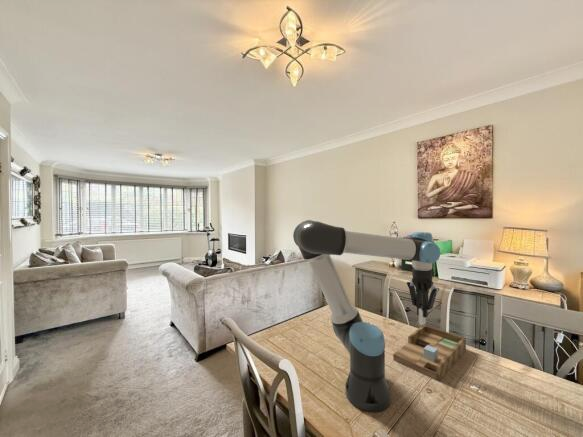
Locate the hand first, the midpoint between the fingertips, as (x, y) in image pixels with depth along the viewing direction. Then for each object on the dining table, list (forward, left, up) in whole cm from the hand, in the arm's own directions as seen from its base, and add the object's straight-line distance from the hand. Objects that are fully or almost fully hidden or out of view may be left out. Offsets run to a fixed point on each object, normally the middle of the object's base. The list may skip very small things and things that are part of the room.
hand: (422, 323), depth 104 cm
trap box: (+8, 0, -16) cm, 18 cm away
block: (+1, -3, -14) cm, 14 cm away
